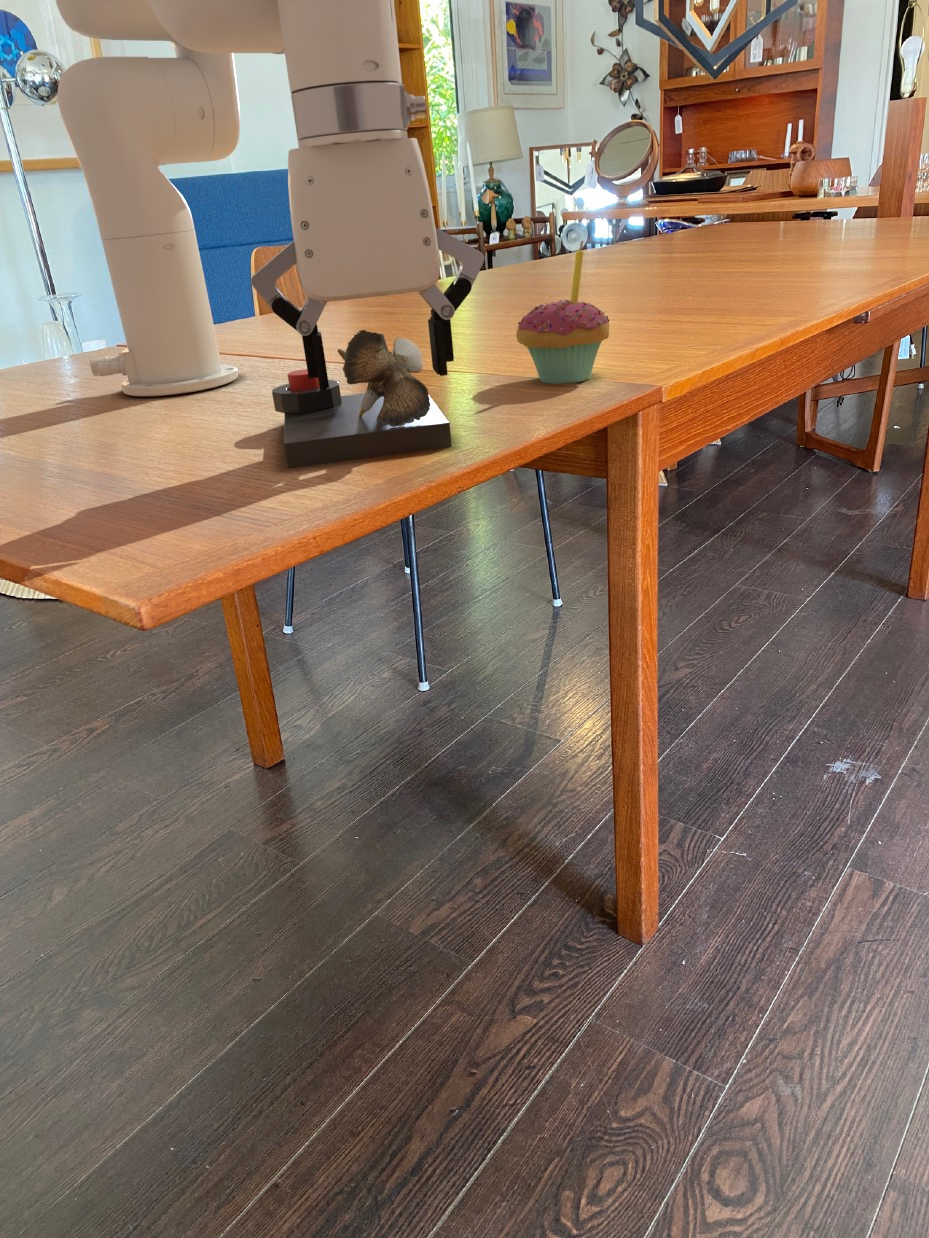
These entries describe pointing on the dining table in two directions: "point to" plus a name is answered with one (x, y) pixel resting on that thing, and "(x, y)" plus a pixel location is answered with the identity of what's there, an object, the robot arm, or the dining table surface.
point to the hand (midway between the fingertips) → (382, 379)
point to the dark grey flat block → (349, 428)
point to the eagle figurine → (387, 377)
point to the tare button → (301, 381)
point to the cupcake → (564, 335)
